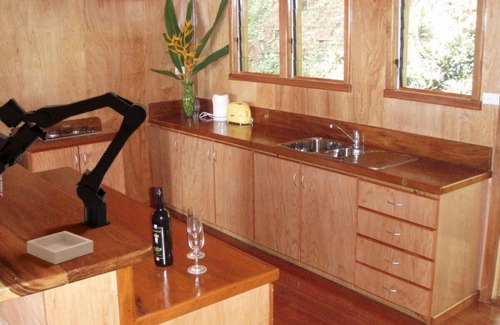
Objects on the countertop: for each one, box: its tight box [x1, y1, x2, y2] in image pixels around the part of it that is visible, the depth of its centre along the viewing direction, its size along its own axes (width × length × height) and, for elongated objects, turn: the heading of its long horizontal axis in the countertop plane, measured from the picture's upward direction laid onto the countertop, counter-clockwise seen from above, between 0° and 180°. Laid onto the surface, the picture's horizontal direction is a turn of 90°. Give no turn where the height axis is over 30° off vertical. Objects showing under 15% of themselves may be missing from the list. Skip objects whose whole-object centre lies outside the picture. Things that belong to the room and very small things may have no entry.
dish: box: [26, 230, 94, 265], centre depth 150 cm, size 12×12×3 cm
